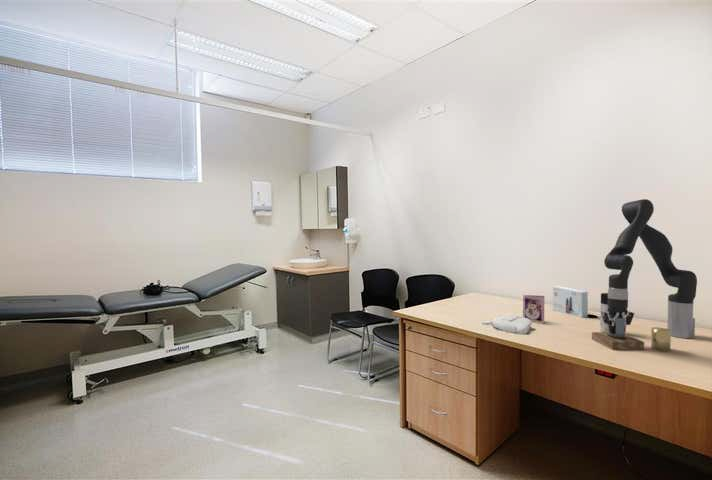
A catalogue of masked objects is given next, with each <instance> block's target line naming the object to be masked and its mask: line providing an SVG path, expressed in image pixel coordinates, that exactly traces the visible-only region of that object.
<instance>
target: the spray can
mask: <svg viewBox="0 0 712 480" xmlns="http://www.w3.org/2000/svg"><path fill="white" fill-rule="evenodd" d="M607 310H608V292H602V293H600V332H609V325H608V324H605V323H604V320H603V317H602V314H601V312H606V311H607ZM608 315H609V314H608ZM609 316H610V315H609ZM609 316H608V318H609Z"/></svg>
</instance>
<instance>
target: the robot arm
mask: <svg viewBox="0 0 712 480" xmlns="http://www.w3.org/2000/svg"><path fill="white" fill-rule="evenodd" d="M654 211H655V207H654V204H653V202H652V201H651V200H650V199H646V198H644V199H637V200H633V201H628V202H626V203H624V204H622V206H621V212H622V215H623V217H624V219H625V220H626V221H627V223H628V226H627V227H625V228H624V229H623V231H622V232H620V234H619V236H618V237H617V240H616V242H615V244H614V246H613V248H612V249H611V250H610V251H609V252H608V253H607V255H606V256H605V258H604V267H605V268H607V269H609V270H616V271H617V270H618V271H620V272H619V273H618V274H610V275H609V277H608V289H607V293H608V310H607V311H606V312H601V311H600V315H601V314H602V317H603V320H604V323H605V324H608V325H609V332H610V333H611V334H614V332H615V326H614V325H615V321H616V318H625V333H626V329H627V326H630V325H631V323H632V321H633V318H634V316H635V313H634V312H631V311H629V310H628V308H629V291H628V290H629V288H628V287H629V286H628V282H629V281H628V280H629V277H630V273H631V271H632V269H633V266H634V259H633V258H632V256H630V255H631V254H632V253H633V252H634V249H635V246H636V244H637V241H638V238H639V239H640V240H641V242H642V243H643V245H644V247H645V249H646V251H647V252H648V253H649V255H650V256H651V258H652V259H653V260H654V263H655V265H656V266H657V268H658V270H659V272H660V275H661V276H662V279H663V281H664V282H665V283H666V285H667V286H670V287H672V288H677V291H676V293H670V294H669V295H668V296H667V322H666V323H667V325H666V326H667V328H666V329H669V330H671V337H676V338H680V339H692V338H695V333H696V332H695V331H696V318H695V317H694V301H695V298H696V295H697V288H698V287H697V285H698V279H697V275H696V273H694V272H693V271H692V270H687V269H678V268H677V266H675V264H674V263H673V261H672V255H673V245H672V243H671V242H670V240H669V239H668V237H667V236H666V234H664V233H663V232H661V231H659V229H656V228H654V227H653V226H651V225H649V224H648V223H649V221H650V219H651V217H652V215H653V213H654ZM608 314H609V315H610V316H609V315H608ZM608 316H609V318H608ZM611 317H612V318H614V319H612V318H611Z"/></svg>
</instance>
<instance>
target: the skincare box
mask: <svg viewBox="0 0 712 480" xmlns="http://www.w3.org/2000/svg"><path fill="white" fill-rule="evenodd" d="M588 293H589V292H588V291H585V290H581V289H576V288H570V287H565V286H561V285H554V286H552V310H553V311H557V312H559V313H560V312H561V313H564V314H567V315H570V316H573V317H578V318H582V319H583V318H588V317H589V315H588V314H589V312H588V310H589V309H588V308H589V305H588V303H589V301H588V300H589V299H588V297H589V296H588Z"/></svg>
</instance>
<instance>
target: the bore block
mask: <svg viewBox="0 0 712 480" xmlns="http://www.w3.org/2000/svg"><path fill="white" fill-rule="evenodd" d="M592 340H593V341H594V342H596V343H598V344H600V345H602V346H604V347H606V348H608V349H610V350H612V351H613V350H614V351H615V350H617V351H619V350H620V351H621V350H622V351H623V350H625V351H626V350H627V351H628V350H629V351H631V350H632V351H635V350H636V351H639V350H640V351H641V350H642V351H644V350H645V341H643V340H640V339H639V338H636V337H633V336H631V335H629V334H627V333H625V339H614V338H612V337H610V332H602V331H598V332H597V331H596V332H594V331H593V332H591V341H592Z"/></svg>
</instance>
